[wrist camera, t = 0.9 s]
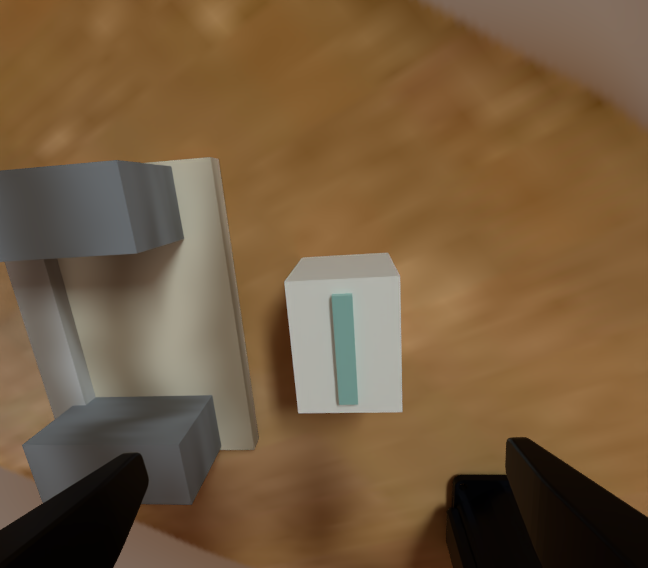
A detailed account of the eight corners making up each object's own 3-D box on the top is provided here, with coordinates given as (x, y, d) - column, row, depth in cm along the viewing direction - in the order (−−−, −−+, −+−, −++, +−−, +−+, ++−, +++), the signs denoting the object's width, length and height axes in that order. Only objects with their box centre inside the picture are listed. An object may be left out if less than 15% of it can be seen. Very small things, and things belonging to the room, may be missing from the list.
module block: (387, 252, 18) (401, 277, 13) (390, 357, 20) (403, 416, 15) (302, 257, 19) (282, 283, 13) (311, 359, 20) (297, 417, 15)
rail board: (218, 158, 17) (166, 148, 13) (258, 438, 22) (231, 509, 17) (1, 177, 19) (-121, 174, 14) (81, 439, 23) (8, 505, 18)
